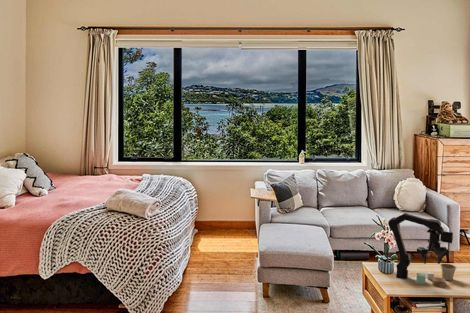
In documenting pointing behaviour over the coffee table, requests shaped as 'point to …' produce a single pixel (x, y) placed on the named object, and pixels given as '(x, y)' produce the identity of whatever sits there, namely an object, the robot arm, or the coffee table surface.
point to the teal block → (420, 278)
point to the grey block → (429, 275)
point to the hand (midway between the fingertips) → (431, 263)
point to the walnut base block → (438, 281)
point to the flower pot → (448, 271)
